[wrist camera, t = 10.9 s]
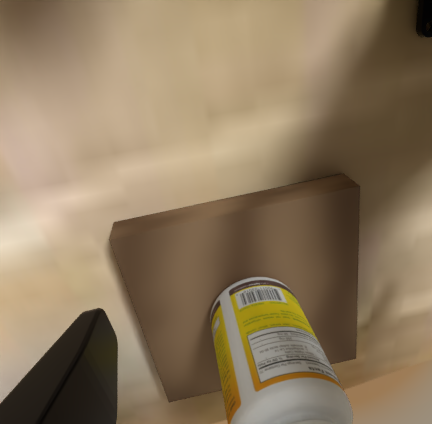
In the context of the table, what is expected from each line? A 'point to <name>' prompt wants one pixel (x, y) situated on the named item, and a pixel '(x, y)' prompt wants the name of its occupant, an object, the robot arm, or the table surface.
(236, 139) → the table surface
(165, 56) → the table surface
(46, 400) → the robot arm
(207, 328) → the walnut block
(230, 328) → the supplement bottle
